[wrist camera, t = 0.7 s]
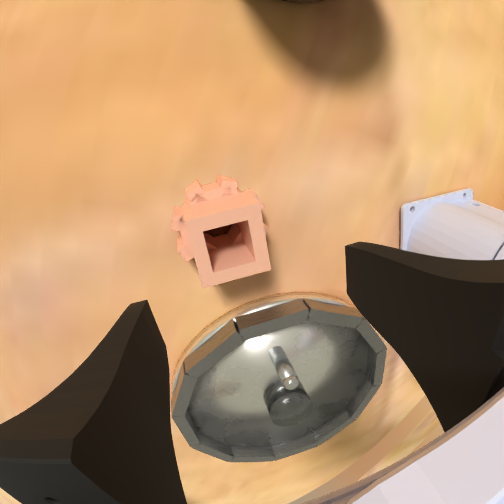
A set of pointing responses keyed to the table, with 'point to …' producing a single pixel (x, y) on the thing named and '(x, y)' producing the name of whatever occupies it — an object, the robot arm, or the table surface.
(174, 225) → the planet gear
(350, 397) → the plate
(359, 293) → the robot arm
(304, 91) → the table surface
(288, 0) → the jar
